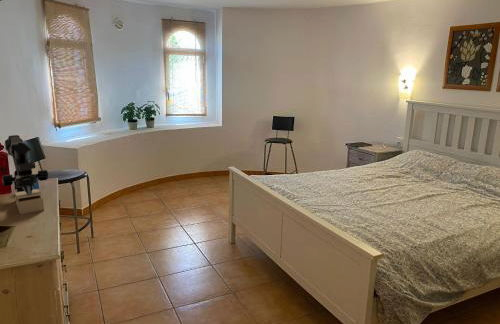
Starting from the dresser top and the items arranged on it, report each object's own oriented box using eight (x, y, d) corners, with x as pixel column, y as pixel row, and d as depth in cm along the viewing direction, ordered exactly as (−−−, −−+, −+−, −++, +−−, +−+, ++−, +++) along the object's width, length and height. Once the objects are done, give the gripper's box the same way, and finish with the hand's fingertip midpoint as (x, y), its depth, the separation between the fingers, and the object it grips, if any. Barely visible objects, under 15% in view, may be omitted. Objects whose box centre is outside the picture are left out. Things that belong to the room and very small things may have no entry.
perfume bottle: (30, 191, 208) (28, 170, 205) (21, 190, 209) (18, 170, 206) (39, 188, 214) (36, 168, 211) (29, 187, 215) (26, 167, 212)
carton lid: (14, 193, 184) (13, 184, 184) (37, 190, 190) (36, 181, 190) (17, 198, 173) (16, 189, 173) (42, 194, 179) (40, 185, 178)
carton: (16, 206, 186) (14, 193, 184) (39, 202, 192) (37, 190, 190) (20, 214, 175) (18, 202, 174) (44, 210, 181) (42, 197, 180)
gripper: (-1, 159, 172) (5, 188, 166) (44, 153, 183) (52, 181, 177) (0, 171, 180) (6, 199, 174) (44, 166, 191) (50, 192, 185)
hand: (29, 192), depth 177 cm, fingers closed on carton lid
